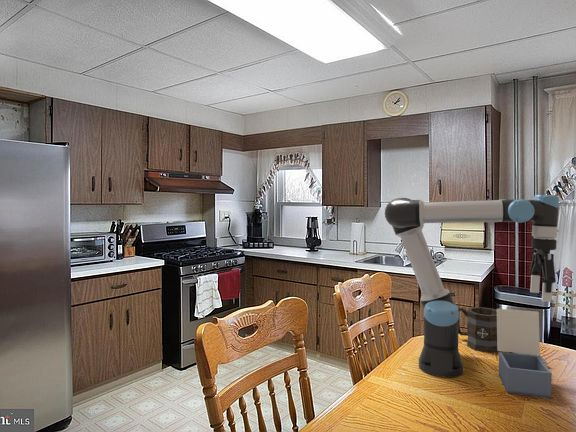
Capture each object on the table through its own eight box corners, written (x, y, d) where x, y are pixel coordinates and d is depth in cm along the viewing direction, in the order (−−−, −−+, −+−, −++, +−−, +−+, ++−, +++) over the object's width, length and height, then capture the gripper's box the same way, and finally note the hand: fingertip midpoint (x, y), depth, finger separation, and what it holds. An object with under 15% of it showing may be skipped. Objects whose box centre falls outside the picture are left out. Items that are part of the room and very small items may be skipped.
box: (507, 393, 124) (507, 368, 124) (498, 374, 138) (498, 351, 137) (551, 398, 121) (551, 373, 120) (537, 379, 134) (538, 356, 134)
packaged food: (529, 355, 155) (529, 343, 154) (548, 368, 143) (548, 355, 143) (506, 355, 155) (506, 343, 155) (524, 368, 143) (524, 355, 143)
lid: (497, 308, 139) (496, 308, 140) (497, 350, 137) (497, 350, 138) (538, 311, 135) (538, 311, 136) (539, 355, 133) (539, 354, 134)
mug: (508, 348, 162) (509, 312, 161) (491, 355, 154) (492, 318, 154) (464, 335, 178) (464, 302, 178) (446, 341, 170) (446, 307, 170)
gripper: (569, 242, 127) (565, 307, 128) (544, 235, 151) (541, 290, 152) (543, 240, 130) (539, 304, 131) (522, 234, 153) (519, 288, 154)
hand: (540, 296), depth 141 cm, fingers open, 13 cm apart
